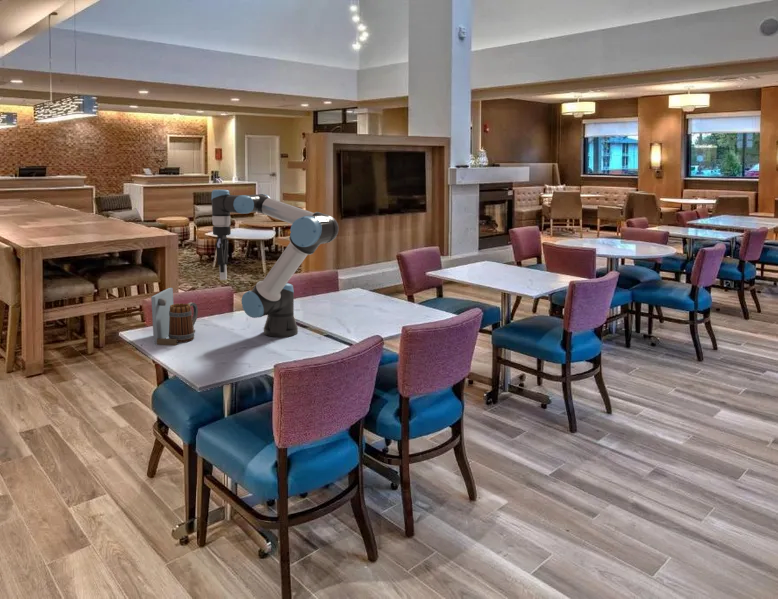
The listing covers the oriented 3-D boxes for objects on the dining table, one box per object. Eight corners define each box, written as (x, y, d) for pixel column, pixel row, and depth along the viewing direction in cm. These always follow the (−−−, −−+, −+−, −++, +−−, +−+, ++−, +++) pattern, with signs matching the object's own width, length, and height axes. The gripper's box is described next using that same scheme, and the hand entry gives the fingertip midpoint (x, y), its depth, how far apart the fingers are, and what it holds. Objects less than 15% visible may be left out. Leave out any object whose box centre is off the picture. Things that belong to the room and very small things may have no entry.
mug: (183, 344, 262) (181, 309, 259) (163, 340, 266) (161, 306, 263) (207, 335, 276) (205, 302, 273) (187, 332, 280) (186, 299, 277)
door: (180, 331, 281) (178, 287, 277) (163, 344, 262) (160, 297, 257) (171, 331, 281) (169, 287, 277) (153, 343, 262) (151, 296, 258)
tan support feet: (193, 331, 282) (193, 326, 282) (176, 345, 260) (175, 339, 260) (176, 330, 282) (175, 325, 282) (157, 344, 260) (156, 338, 260)
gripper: (217, 224, 278) (218, 276, 283) (208, 226, 265) (210, 281, 270) (233, 224, 278) (235, 276, 283) (226, 227, 265) (228, 282, 270)
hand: (223, 279), depth 277 cm, fingers closed
